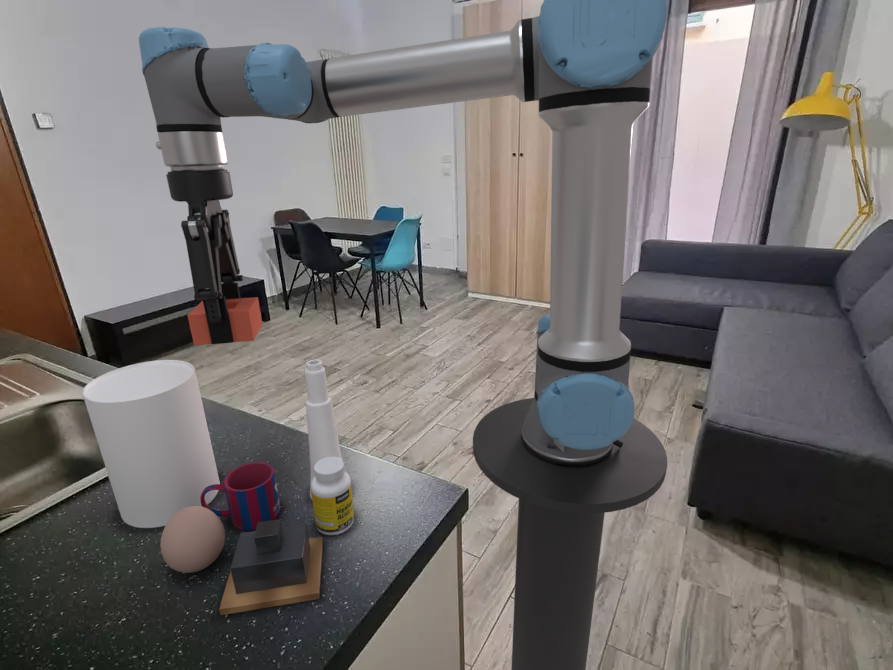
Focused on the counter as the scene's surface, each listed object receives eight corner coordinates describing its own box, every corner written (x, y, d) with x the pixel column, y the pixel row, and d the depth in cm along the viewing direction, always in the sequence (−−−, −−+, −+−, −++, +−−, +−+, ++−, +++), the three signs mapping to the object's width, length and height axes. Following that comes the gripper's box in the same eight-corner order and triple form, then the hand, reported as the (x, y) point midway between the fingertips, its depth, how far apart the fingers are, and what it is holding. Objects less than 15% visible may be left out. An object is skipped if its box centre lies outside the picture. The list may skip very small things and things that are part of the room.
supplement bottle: (342, 540, 66) (335, 480, 62) (308, 531, 67) (299, 472, 64) (361, 514, 70) (356, 457, 67) (329, 506, 72) (322, 450, 69)
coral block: (262, 324, 75) (257, 297, 74) (253, 340, 69) (248, 310, 67) (208, 329, 74) (202, 300, 72) (193, 345, 68) (187, 315, 66)
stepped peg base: (323, 542, 65) (317, 497, 63) (319, 599, 57) (312, 549, 54) (237, 555, 63) (227, 509, 61) (220, 615, 55) (207, 565, 53)
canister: (97, 522, 70) (55, 399, 62) (163, 466, 82) (134, 357, 75) (182, 532, 67) (149, 405, 60) (236, 473, 80) (214, 362, 73)
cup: (278, 527, 68) (271, 487, 66) (202, 538, 66) (191, 498, 64) (283, 496, 74) (276, 458, 72) (213, 506, 72) (204, 468, 70)
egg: (155, 573, 61) (139, 520, 58) (206, 535, 67) (193, 486, 64) (192, 596, 58) (177, 541, 55) (241, 554, 64) (230, 502, 61)
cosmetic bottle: (357, 490, 75) (344, 361, 67) (325, 511, 71) (307, 375, 63) (334, 474, 79) (319, 350, 71) (302, 493, 75) (282, 363, 67)
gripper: (190, 167, 72) (219, 314, 80) (134, 171, 53) (179, 362, 62) (243, 166, 73) (267, 311, 81) (206, 169, 55) (241, 357, 63)
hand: (229, 332), depth 71 cm, fingers closed on coral block, 7 cm apart
